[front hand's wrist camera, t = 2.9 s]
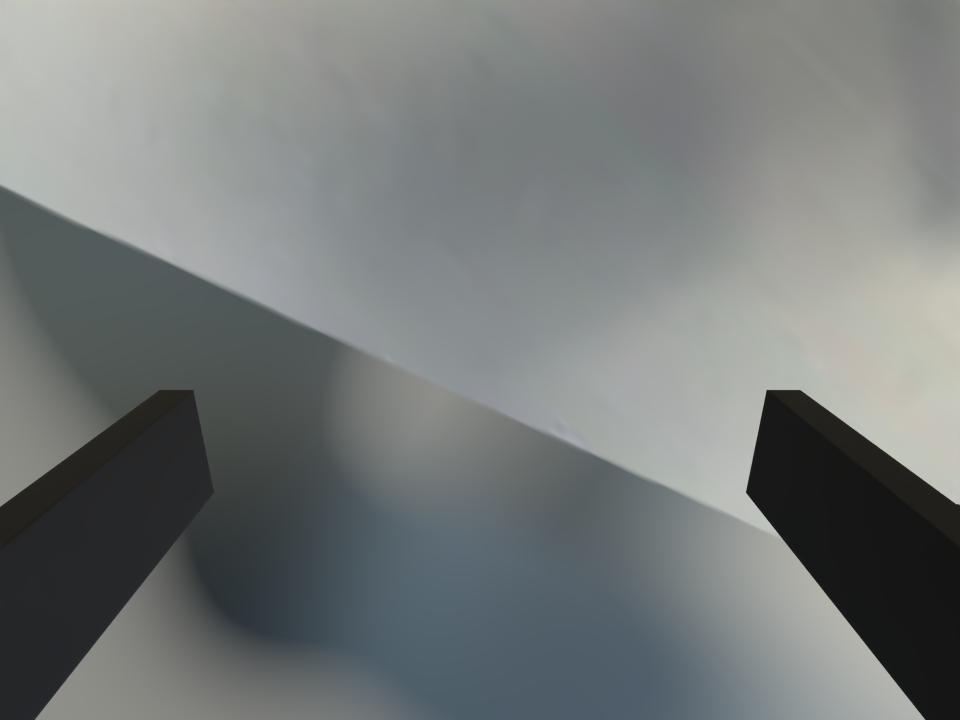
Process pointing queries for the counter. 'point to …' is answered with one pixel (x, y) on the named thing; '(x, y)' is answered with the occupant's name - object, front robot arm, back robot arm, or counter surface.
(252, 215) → the counter surface
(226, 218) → the counter surface
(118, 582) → the front robot arm
